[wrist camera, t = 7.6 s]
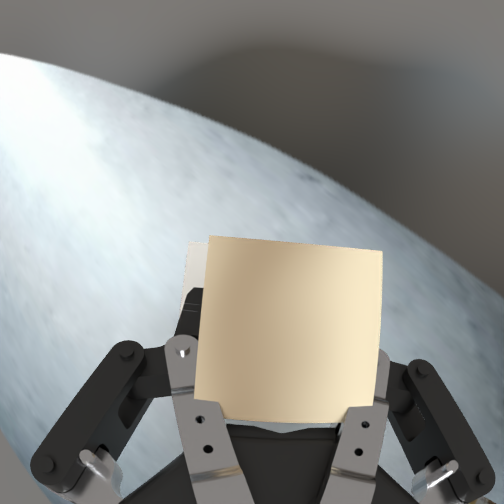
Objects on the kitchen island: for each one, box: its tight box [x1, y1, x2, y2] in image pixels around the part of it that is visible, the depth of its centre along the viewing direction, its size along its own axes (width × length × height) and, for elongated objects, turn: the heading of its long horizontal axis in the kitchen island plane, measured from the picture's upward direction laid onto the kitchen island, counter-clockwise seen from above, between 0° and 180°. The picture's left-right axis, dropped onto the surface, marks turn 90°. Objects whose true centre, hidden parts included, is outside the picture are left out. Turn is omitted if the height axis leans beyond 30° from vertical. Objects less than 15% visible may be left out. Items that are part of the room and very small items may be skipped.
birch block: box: [194, 235, 382, 423], centre depth 14 cm, size 5×5×12 cm
